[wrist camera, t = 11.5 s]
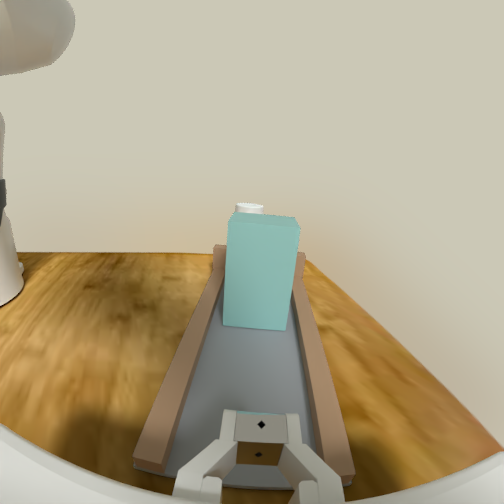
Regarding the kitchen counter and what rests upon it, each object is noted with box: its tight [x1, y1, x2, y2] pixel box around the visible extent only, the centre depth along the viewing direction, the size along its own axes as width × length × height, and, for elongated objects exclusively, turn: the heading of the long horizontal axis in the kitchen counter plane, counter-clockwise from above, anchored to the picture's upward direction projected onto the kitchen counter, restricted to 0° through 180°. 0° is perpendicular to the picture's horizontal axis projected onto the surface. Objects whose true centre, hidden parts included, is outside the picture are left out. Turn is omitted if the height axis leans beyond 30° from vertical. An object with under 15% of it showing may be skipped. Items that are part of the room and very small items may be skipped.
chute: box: [132, 245, 356, 490], centre depth 25 cm, size 12×30×4 cm, turn 178°
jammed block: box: [223, 212, 300, 331], centre depth 28 cm, size 6×5×10 cm
